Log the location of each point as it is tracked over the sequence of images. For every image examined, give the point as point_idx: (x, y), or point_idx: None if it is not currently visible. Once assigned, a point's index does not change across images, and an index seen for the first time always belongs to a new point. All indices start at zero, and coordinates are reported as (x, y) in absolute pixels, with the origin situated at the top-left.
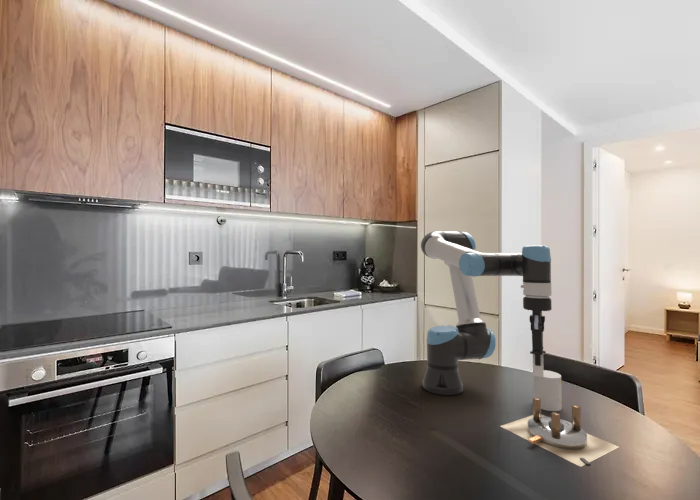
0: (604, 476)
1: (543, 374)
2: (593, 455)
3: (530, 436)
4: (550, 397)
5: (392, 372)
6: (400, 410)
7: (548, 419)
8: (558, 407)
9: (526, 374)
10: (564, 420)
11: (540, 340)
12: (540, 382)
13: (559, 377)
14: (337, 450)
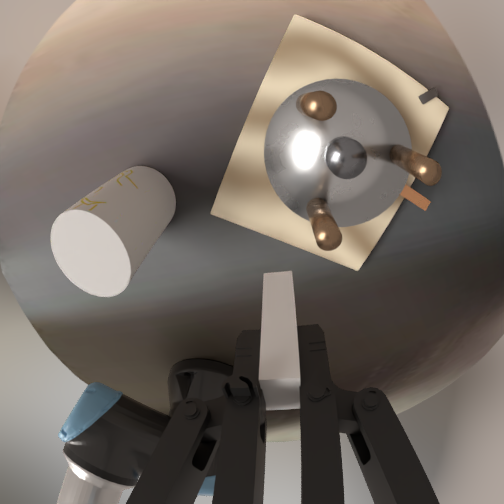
0: (426, 65)
1: (274, 278)
2: (388, 72)
3: None
4: (151, 205)
5: None
6: (350, 387)
7: (292, 181)
8: (145, 176)
9: (15, 278)
10: (265, 140)
11: (425, 485)
12: (141, 257)
13: (86, 212)
14: (463, 367)
